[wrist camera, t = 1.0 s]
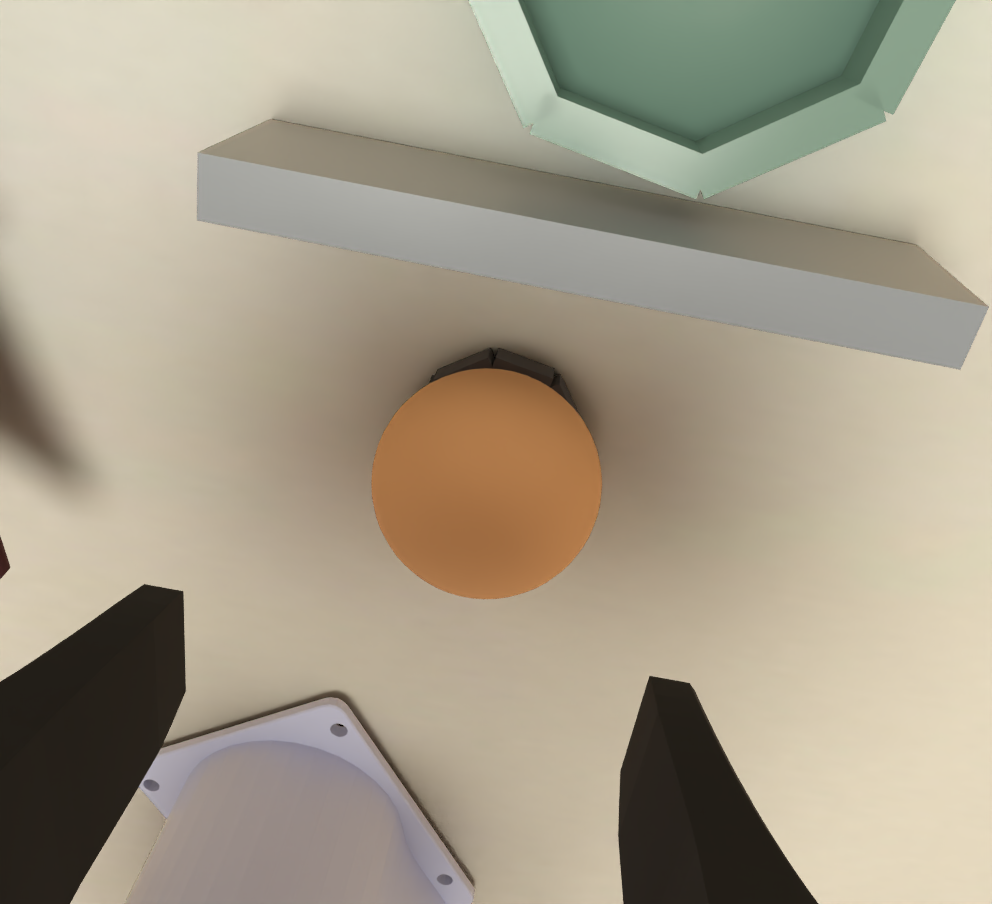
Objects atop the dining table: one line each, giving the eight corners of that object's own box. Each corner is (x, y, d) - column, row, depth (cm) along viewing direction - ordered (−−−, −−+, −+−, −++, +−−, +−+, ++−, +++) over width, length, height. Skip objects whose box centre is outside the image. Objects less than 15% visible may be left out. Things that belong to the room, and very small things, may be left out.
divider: (916, 245, 19) (988, 307, 16) (895, 298, 20) (960, 369, 16) (270, 118, 19) (198, 152, 16) (267, 175, 20) (196, 220, 16)
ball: (632, 480, 22) (642, 607, 18) (451, 543, 24) (419, 674, 19) (550, 301, 20) (538, 393, 16) (359, 381, 22) (299, 485, 17)
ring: (602, 464, 22) (603, 476, 22) (462, 514, 23) (460, 527, 23) (538, 328, 21) (537, 337, 20) (392, 388, 22) (387, 398, 21)
